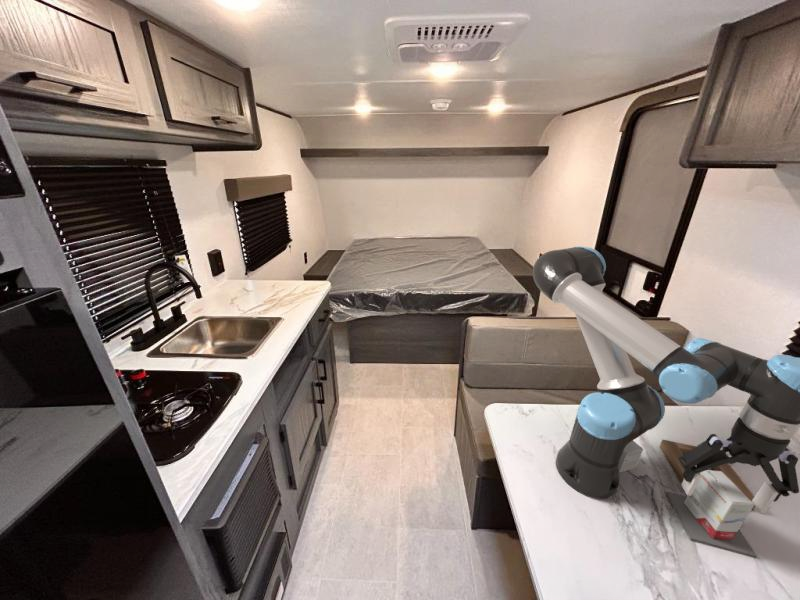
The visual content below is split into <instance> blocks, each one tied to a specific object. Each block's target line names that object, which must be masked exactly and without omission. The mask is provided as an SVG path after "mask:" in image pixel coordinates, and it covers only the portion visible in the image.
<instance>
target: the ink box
mask: <svg viewBox="0 0 800 600" xmlns="http://www.w3.org/2000/svg"><path fill="white" fill-rule="evenodd" d="M700 474H701V478H700V480H699V482H698V484H697V486H696V487H695V489H694V491H693V493H692V495H691V496H689V495H686V496H687V498H686V499H685V501H684V504H685V505H686V506H687V507H688V509H689V510H690V511H691V512H692V514H693V515H694V516H695V517H696V519H697V520H698V521H699V522H700V524H701V525H702V526H703V528H704V529H705V530H706V531H707V533H708V534H709V535H710V536H711V537H712V538H715V539H733V538H734V536H735V534H736V533H737V531H738V530H740V528H741V527H742V525H743V524H744V522H745V520H746V519H747V517H748V516H749V514H750V513H751V511H752V510H751V509H752V508H753V506H754V503H752V501H751V500H750V499H749V498H748V497H747V496H746V495H745V494H744V493H743V492H742V491H741V490H740V489H739V488H738V487H737V486H736V485H735V484H734V483H733V482H732V481H731V480H730V479H729V478H728V477H727V476H726V475H725V474H724V473H723V472H722V471H714V470H711V469H709V470H706V471H703V472H700Z"/></svg>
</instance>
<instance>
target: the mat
mask: <svg viewBox="0 0 800 600" xmlns="http://www.w3.org/2000/svg"><path fill="white" fill-rule="evenodd" d="M665 493H666V495H667V498H668V499H669V501H670V503H671V505H672V507H673V509H674V511H675V513H676V514H677V517H678V519H679V521H680V523H681V525H682V526H683V528H684V531H685V532H686V534H687V537H688V539H689V540H690V541H692V542H696V543H699V544H700V543H701V544H703V545H704V544H705V545H708V546H711V547H714V548H719V549H722V550H725V551H729V552H733V553H737V554H741V555H744V556H748V557H752V558H757V557H758V556H757V554H756V553H755V551H754V550H753V547H752V546H751V544H750V543H749V542H748V540H747V539H746V537H745V536H744V534H743V533H742V532H741V529H739V530H738V531H737V533H736V534H735V536H734V538H733V539H715V538H712V537H711V536H710V535H709V534H708V533H707V531H706V530H705V529H704V528H703V526H702V525H701V524H700V522H699V521H698V520H697V519H696V517H695V516H694V515H693V514H692V512H691V511H690V510H689V509H688V507H687V506H686V505H685V504H684V501H685V499H686V498H687V496H688V495H687V494H686V495H685V494H681V493H676V492H673V491H670V490H666V491H665Z"/></svg>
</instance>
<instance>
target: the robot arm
mask: <svg viewBox="0 0 800 600" xmlns="http://www.w3.org/2000/svg"><path fill="white" fill-rule="evenodd" d="M606 268H607V265H606V260H605V258H604V257H603V255H602V254H601V252H599V251H598V250H596V249H595V248H592V247H587V246H572V247H569V248H564V249H562V248H561V249H553V250H549V251H547V252H545V253H543V254H542V255H540V256H539V257H538V258H537V259H536V261H535V263H534V265H533V269H532V278H533V281H534V283H535V286H536V287H537V288H538V290H539V291H541V293H543V294H544V295H545V297H547V298H548V299H550V301H552V302H553V303H555V304H562V305H564V306H565V307H566V308H568V309H569V310H570V311H571V312H573V313H574V315H575V317H576V320H577V322H578V325H579V327H580V328H579V329H580V330H581V332H582V335H583V338H584V341H585V343H586V346H587V348H588V351H589V353H590V356H591V358H592V361H593V364H594V366H595V370H596V371H597V374H598V376H599V382H598V384H597V385H596V388H597V391H598V392H592V393H589V394H587V395H585V396H584V398H582V400H581V402H580V404H579V406H578V408H577V412H576V417H575V419H574V423H573V426H572V430H571V433H570V436H569V440H568V441H567V442H565V444H564V445H562V447H561V448H560V449H559V450H558V452H557V454H556V458H555V467H556V470H557V471H558V472H557V473H558V474H559V476H560V477H561V478H562V479H563V481H564V482H565V483H566V484H568V485H569V486H570V487H571V488H572V489H574V490H575V491H576V492H579V493H581V494H583V495H585V496H587V497H591V498H593V499H599V500H600V499H601V500H602V499H609V498H611V497H614V496H615V495H616V494H617V492H618V489H619V487H620V483H621V482H620V481H621V476H620V472H619V466H618V463H619V461H620V458H621V456H622V453H623V451H624V448H625V447H626V445H627V444H628V443H630V442H631V441H635V440H636V439H637V438H639V437H641V436H642V435H643V434H645V433H646V432H648V431H651V430H652V429H655V427H657V426H658V425H659V423H660V422H661V421H662V419H663V418H664V416H665V414H666V413H665V412H666V406H665V402H664V400H663V397H662V396H661V395H660V393H659V392H658V391H657V390H656V389H653V388H652V387H651V385H649V384H647V382H646V381H647V380H645V377H643V376H641V375H639V374H637V373H636V372H635V369H634V366H633V364H632V361H631V360H630V357H629V355H630V356H631V357H633V358H634V359H635V360H636V361H638V362H639V363H640V364H642V365H643V366H644V367H646V368H647V369H648V370H650V372H652V373H653V374H655V375H656V376H657V377H658V383H659V386H660V388H661V389H662V391H663V393H664V394H665V395H666V396H667V397H668V398H670V399H672V400H674V401H676V402H679V403H682V404H689V405H692V404H693V405H694V404H697V403H700V402H702V401H704V400H706V399H709V398H712V397H714V395H715V394H716V393H717V392H718V391H720V390H721V389H722V388H724V387H726V386H729V387H732V388H734V389H736V390H739V391H741V392H744V393H747V394H749V395H750V396H749V398H748V399H747V400H746V402H745V404H744V406H743V408H742V409H741V411H740V413H739V417H737V419H736V420H735V423H734V424H733V426H732V427H731V432H730V436H729V437H727V438H726V439H724V438H721V437H718V436H717V434H715V433H711V434H709V435H708V437H707V438H706V440H705V441H702V442H701V443H700V444H699V445H696V446H697V447H695V448H693V449H692V450H690V451H689V452H687V453H686V454H684V455H682V456H681V457H679V461H680V462H681V464H682V466H683V467H684V469H685V471H684V473H683V477H684V480H683V482H682V484H680V486H681V487H682V489H683V491H684V493H685V494H686V496H688V495H689V496H691V495H692V493H693V491H694V489H695V487H696V486H697V484H698V482H699V480H700V478H701V474H700V472H703V471H706V470H711V469H712V468H714V467H717V466H720V465H723V464H726V463H729V465H732V464H735V463H739V464H744V465H750V466H751V467H757V466H760V468H761V469H762V470H763V472H764V474H765V476H766V477H767V479H768V480H769V481H766V480H765V481H764V482H763V483H762V484H761V486H760V488H759V489H758V490H757V493H756V494H755V495H754V498H753V500H752V503H754V505H755V509H757V510H758V512H759V513H760V514H766V512H767V511H768V509H770V508H769V507H770V506H771V505H772V503H773V502H774V503H776V502H777V501H778V500H779V498H780V497H781V496H783V497H789V496H790V495H791V494H790V493H792V494H794V495H795V494H799V493H800V489H799V482H798V481H799V480H798V475H797V470H796V466H797V463H798V462H799V458H798V457H797V455H795V454H794V453H793V452H792V451H791V449H789V448H788V446H789V445H790V443H791V439H793V438H794V436H795V435H796V433H797V432H798V430H799V429H800V357H795V356H792V355H788V354H774V355H773V356H772V357H771V358H770V359H764V358H760V357H757V356H755V355H752V354H749V353H746V352H745V351H741V350H739V349H735V348H733V347H730V346H727V345H725V344H722V343H720V342H718V341H713V340H709V339H707V338H703V337H695V338H693V339H692V340H691V341H690V342H689V343H687V345H686V346H685V348H684V347H682V346H681V345H679V343H676V342H675V341H673V340H672V339H671V338H669V337H667V336H666V335H665V334H663V333H662V332H660V331H659V330H657V329H655V328H654V327H653V326H651V325H650V324H648V323H647V322H646V321H644V320H642V319H641V318H639V317H638V316H636V315H634V314H633V313H632V312H630V311H629V310H628V309H625V308H624V307H623V306H621V305H620V304H618V303H617V302H616V301H614V300H612V299H611V298H609V297H608V296H606V295H605V294H604V293H603V290H604V288H605V287H606V284H607V283H606V282H605V279H604V275H605V271H606V270H607V269H606ZM727 452H728V453H729V455H728V454H727ZM775 460H778V464H779V469H780V470H779V471H780V476H781V479H780V477H779V476H778V475H777V473H776V472H775V469H774V467H773V465H772V464H771V462H772V461H775ZM789 492H790V493H789Z"/></svg>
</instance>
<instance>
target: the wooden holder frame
mask: <svg viewBox="0 0 800 600" xmlns="http://www.w3.org/2000/svg"><path fill="white" fill-rule="evenodd" d="M659 444H660V445H659V449H660V451H661V453H662V454H663V456H664V457H665V460H666V461H667V463H668V464H669V467H670V468H671V469H672V471H673V474H674V475H675V477H676V479H677V480H678V482H679V483H680V485H681V484H682V482H683V480H684V477H683V473H684V471H685V469H684V467H683V466H682V464H681V462H680V461H679V457H681V456H682V455H684V454H686V453H687V452H689V451H690V450H692V449H693V448H695V447H697V446H698V445H691V444H686V443H680V442H676V441H672V440H668V439H662V440H661V442H660V443H659ZM710 470H714V471H722V472H723V473H724V474H725V475H726V476H727V477H728V478H729V479H730V480H731V481H732V482H733V483H734V484H735V485H736V486H737V487H738V488H739V489H740V490H741V491H742V492H743V493H744V494H745V495H746V496H747V497H748V498H749V499H750V500H751V501H752V500H753V498H754V497H755V495H754V494H753V492H751V490H750V489H749V488H748V486H747V485H746V484H745V482H744V481H743V480H742V479H741V477H740V476H739V475H738V473H737V472H736V471H735V470H734V469H733V467H732V466H731V464H729V463H726V464H723V465H720V466H717V467H714V468H712V469H710ZM755 509H756V507H755V505H754V506H753V508H752V509H751V511H754V510H755Z"/></svg>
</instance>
